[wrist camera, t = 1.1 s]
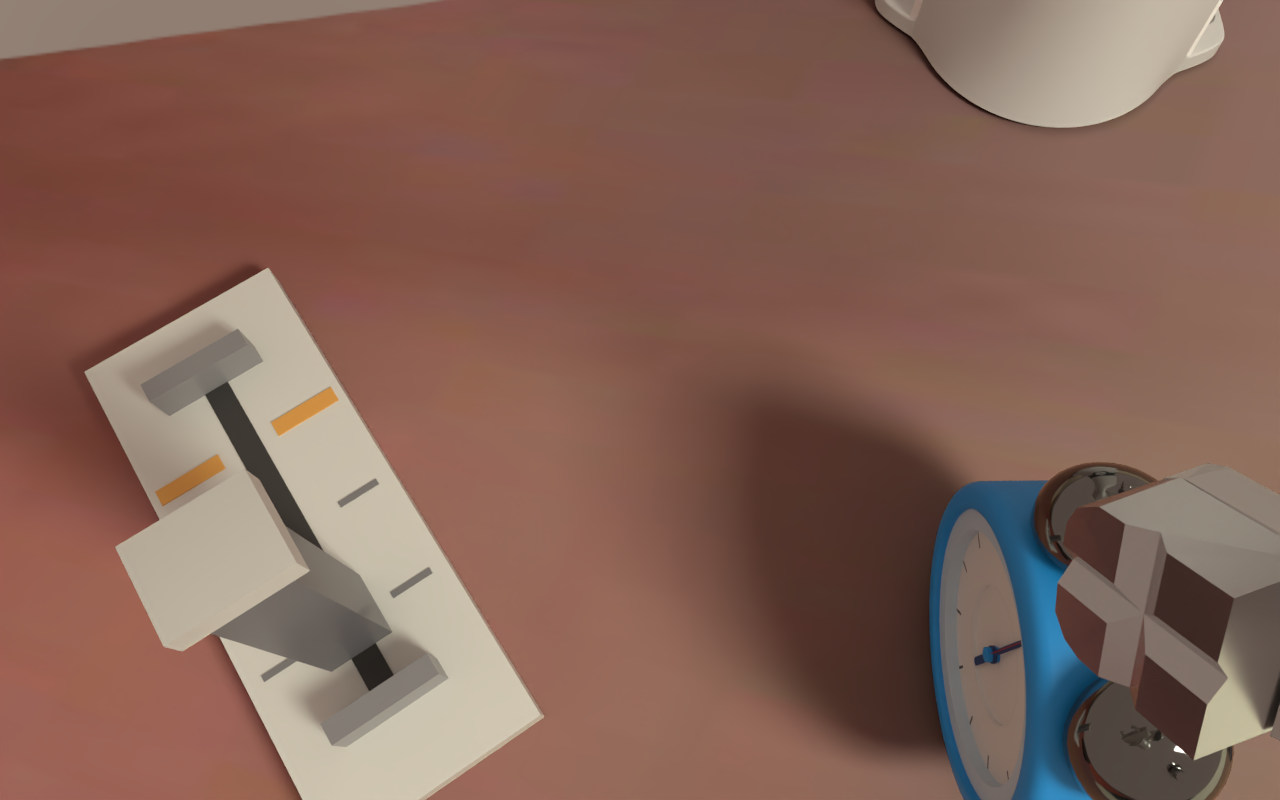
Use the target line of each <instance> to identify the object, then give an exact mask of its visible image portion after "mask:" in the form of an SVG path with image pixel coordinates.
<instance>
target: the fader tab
mask: <svg viewBox="0 0 1280 800" xmlns="http://www.w3.org/2000/svg"><path fill="white" fill-rule="evenodd" d="M115 548H116V550H117V552H118V554H119V556H120V558H121V560H122V562H123V564H124V566H125V568H126V570H127V572H128V574H129V577H130V579H131V581H132V583H133V585H134V587H135V589H136V591H137V593H138V595H139V597H140V599H141V601H142V603H143V605H144V607H145V609H146V611H147V613H148V615H149V617H150V619H151V622H152V624H153V626H154V628H155V630H156V632H157V634H158V636H159V638H160V640H161V642H162V644H163V646H164V647H167V648H171V649H174V650H178V651H184V650H186V649H187V648H189V647H190V646H192V645H193V644H195V643H197V642H198V641H200V640H201V639H203V638H205V637H206V636H208V635H209V634H213V635H216V636H219V637H222V638H225V639H228V640H232V641H235V642H238V643H241V644H244V645H248V646H251V647H254V648H257V649H260V650H263V651H267V652H270V653H273V654H276V655H279V656H283V657H286V658H289V659H292V660H295V661H298V662H302V663H305V664H308V665H311V666H314V667H318V668H321V669H324V670H327V671H330V672H332V671H334V670H335V669H337V668H338V667H340V666H341V665H343V664H344V663H346V662H347V661H349V660H350V659H352V658H353V657H355V656H357V655H358V654H360V653H361V652H363V651H364V650H366V649H367V648H369V647H370V646H372V645H373V644H375V643H376V642H378V641H379V640H381V639H382V638H384V637H386V636H387V635H389V634H390V633H392V630H391V628H390V627H389V625H388V623H387V621H386V620H385V618H384V616H383V614H382V613H381V611H380V609H379V608H378V606H377V604H376V602H375V601H374V599H373V597H372V595H371V594H370V592H369V590H368V588H367V587H366V585H365V583H364V581H363V580H362V578H361V576H360V575H359V574H358V573H356V572H355V571H353V570H351V569H350V568H348V567H347V566H345V565H344V564H342V563H341V562H339V561H338V560H336V559H335V558H333V557H332V556H330V555H329V554H327V553H326V552H324V551H323V550H321V549H320V548H318V547H317V546H315V545H314V544H312V543H310V542H309V541H307V540H306V539H304V538H303V537H301V536H300V535H298V534H297V533H295V532H294V531H292V530H291V529H289V528H288V527H286V526H285V525H284V523H283V521H282V519H281V518H280V516H279V514H278V512H277V510H276V509H275V507H274V505H273V503H272V501H271V500H270V498H269V496H268V494H267V492H266V491H265V489H264V487H263V485H262V483H261V482H260V480H259V479H258V478H257V477H255V476H254V475H253V474H251V473H250V472H248V471H247V470H246V469H243V470H242V471H240V472H238V473H237V474H235V475H233V476H232V477H230V478H228V479H227V480H225V481H224V482H222V483H220V484H219V485H217V486H215V487H214V488H212V489H210V490H209V491H207V492H205V493H204V494H202V495H200V496H199V497H197V498H195V499H194V500H192V501H190V502H189V503H187V504H185V505H184V506H182V507H180V508H179V509H177V510H175V511H174V512H172V513H171V514H169V515H167V516H166V517H164V518H162V519H161V520H159V521H157V522H156V523H154V524H152V525H151V526H149V527H147V528H146V529H144V530H142V531H141V532H139V533H137V534H136V535H134V536H132V537H131V538H129V539H127V540H126V541H124V542H122V543H121V544H119V545H118V546H116V547H115Z"/></svg>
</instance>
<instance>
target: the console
mask: <svg viewBox="0 0 1280 800" xmlns="http://www.w3.org/2000/svg"><path fill="white" fill-rule="evenodd" d="M84 373H85V375H86V376H87V378H88V380H89V382H90V384H91V386H92V388H93V390H94V392H95V394H96V396H97V398H98V400H99V402H100V404H101V406H102V408H103V410H104V412H105V414H106V416H107V418H108V420H109V422H110V424H111V425H112V427H113V429H114V431H115V433H116V435H117V437H118V439H119V441H120V443H121V445H122V447H123V449H124V451H125V453H126V455H127V457H128V459H129V461H130V463H131V465H132V467H133V469H134V471H135V473H136V474H137V476H138V478H139V480H140V482H141V484H142V486H143V488H144V490H145V492H146V494H147V496H148V498H149V500H150V502H151V504H152V506H153V508H154V510H155V512H156V514H157V516H158V518H159V520H161V519H162V518H164V517H166V516H167V515H169V514H171V513H172V512H174V511H175V510H177V509H179V508H180V507H182V506H184V505H185V504H187V503H189V502H190V501H192V500H194V499H195V498H197V497H199V496H200V495H202V494H204V493H205V492H207V491H209V490H210V489H212V488H214V487H215V486H217V485H219V484H220V483H222V482H224V481H225V480H227V479H228V478H230V477H232V476H233V475H235V474H237V473H238V472H240V471H242V470H243V469H246V470H247V471H248V472H250V473H251V474H253V475H254V476H255V477H257V478H258V479H259V480H260V482H261V483H262V485H263V487H264V489H265V491H266V492H267V494H268V496H269V498H270V500H271V501H272V503H273V505H274V507H275V509H276V510H277V512H278V514H279V516H280V518H281V519H282V521H283V523H284V525H285V526H286V527H288V528H289V529H291V530H292V531H294V532H295V533H297V534H298V535H300V536H301V537H303V538H304V539H306V540H307V541H309V542H310V543H312V544H314V545H315V546H317V547H318V548H320V549H321V550H323V551H324V552H326V553H327V554H329V555H330V556H332V557H333V558H335V559H336V560H338V561H339V562H341V563H342V564H344V565H345V566H347V567H348V568H350V569H351V570H353V571H355V572H356V573H358V574H359V575H360V576H361V578H362V580H363V581H364V583H365V585H366V587H367V588H368V590H369V592H370V594H371V595H372V597H373V599H374V601H375V602H376V604H377V606H378V608H379V609H380V611H381V613H382V614H383V616H384V618H385V620H386V621H387V623H388V625H389V627H390V628H391V630H392V633H390V634H389V635H387V636H386V637H384V638H382V639H381V640H379V641H378V642H376V643H375V644H373V645H372V646H370V647H369V648H367V649H366V650H364V651H363V652H361V653H360V654H358V655H357V656H355V657H353V658H352V659H350V660H349V661H347V662H346V663H344V664H343V665H341V666H340V667H338V668H337V669H335V670H334V671H332V672H330V671H327V670H324V669H321V668H318V667H314V666H311V665H308V664H305V663H302V662H298V661H295V660H292V659H289V658H286V657H283V656H279V655H276V654H273V653H270V652H267V651H263V650H260V649H257V648H254V647H251V646H248V645H244V644H241V643H238V642H235V641H232V640H228V639H225V638H222V637H220V639H221V641H222V643H223V645H224V647H225V649H226V651H227V653H228V655H229V657H230V659H231V661H232V663H233V665H234V666H235V668H236V670H237V672H238V674H239V676H240V678H241V680H242V682H243V684H244V686H245V688H246V690H247V692H248V694H249V696H250V698H251V700H252V702H253V704H254V706H255V708H256V710H257V712H258V714H259V715H260V717H261V719H262V721H263V723H264V725H265V727H266V729H267V731H268V733H269V735H270V737H271V739H272V741H273V743H274V745H275V747H276V749H277V751H278V753H279V755H280V757H281V759H282V761H283V762H284V764H285V766H286V768H287V770H288V772H289V774H290V776H291V778H292V780H293V782H294V784H295V786H296V788H297V790H298V792H299V794H300V796H301V798H302V800H426V799H427V798H429V797H430V796H431V795H433V794H434V793H436V792H437V791H439V790H440V789H442V788H443V787H444V786H446V785H447V784H449V783H450V782H452V781H453V780H454V779H456V778H457V777H459V776H460V775H462V774H463V773H465V772H466V771H467V770H469V769H470V768H472V767H473V766H475V765H476V764H478V763H479V762H480V761H482V760H483V759H485V758H486V757H488V756H489V755H491V754H492V753H493V752H495V751H496V750H498V749H499V748H501V747H502V746H503V745H505V744H506V743H508V742H509V741H511V740H512V739H514V738H515V737H516V736H518V735H519V734H521V733H522V732H524V731H525V730H527V729H528V728H529V727H531V726H532V725H534V724H535V723H537V722H538V721H540V720H541V719H542V718H544V717H545V716H544V715H543V713H542V711H541V710H540V708H539V706H538V705H537V703H536V702H535V700H534V698H533V697H532V695H531V693H530V692H529V690H528V688H527V687H526V685H525V684H524V682H523V680H522V679H521V677H520V675H519V674H518V672H517V670H516V669H515V667H514V665H513V664H512V662H511V661H510V659H509V657H508V656H507V654H506V652H505V651H504V649H503V647H502V646H501V644H500V643H499V641H498V639H497V638H496V636H495V634H494V633H493V631H492V629H491V628H490V626H489V625H488V623H487V621H486V620H485V618H484V616H483V615H482V613H481V611H480V610H479V608H478V607H477V605H476V603H475V602H474V600H473V598H472V597H471V595H470V593H469V592H468V590H467V589H466V587H465V585H464V584H463V582H462V580H461V579H460V577H459V575H458V574H457V572H456V571H455V569H454V567H453V566H452V564H451V562H450V561H449V559H448V557H447V556H446V554H445V553H444V551H443V549H442V548H441V546H440V544H439V543H438V541H437V539H436V538H435V536H434V534H433V533H432V531H431V530H430V528H429V526H428V525H427V523H426V521H425V520H424V518H423V516H422V515H421V513H420V512H419V510H418V508H417V507H416V505H415V503H414V502H413V500H412V498H411V497H410V495H409V494H408V492H407V490H406V489H405V487H404V485H403V484H402V482H401V480H400V479H399V477H398V476H397V474H396V472H395V471H394V469H393V467H392V466H391V464H390V462H389V461H388V459H387V458H386V456H385V454H384V453H383V451H382V449H381V448H380V446H379V444H378V443H377V441H376V440H375V438H374V436H373V435H372V433H371V431H370V430H369V428H368V426H367V425H366V423H365V421H364V420H363V418H362V417H361V415H360V413H359V412H358V410H357V408H356V407H355V405H354V403H353V402H352V400H351V399H350V397H349V395H348V394H347V392H346V390H345V389H344V387H343V385H342V384H341V382H340V381H339V379H338V377H337V376H336V374H335V372H334V371H333V369H332V367H331V366H330V364H329V363H328V361H327V359H326V358H325V356H324V354H323V353H322V351H321V349H320V348H319V346H318V345H317V343H316V341H315V340H314V338H313V336H312V335H311V333H310V331H309V330H308V328H307V327H306V325H305V323H304V322H303V320H302V318H301V317H300V315H299V313H298V312H297V310H296V308H295V307H294V305H293V304H292V302H291V300H290V299H289V297H288V295H287V294H286V292H285V290H284V289H283V287H282V286H281V284H280V282H279V281H278V280H277V278H276V277H275V276H274V274H273V273H272V272H271V271H270V269H269V268H267V269H265V270H263V271H261V272H259V273H258V274H256V275H254V276H252V277H251V278H249V279H247V280H245V281H244V282H242V283H240V284H238V285H237V286H235V287H233V288H231V289H229V290H228V291H226V292H224V293H222V294H221V295H219V296H217V297H215V298H214V299H212V300H210V301H208V302H207V303H205V304H203V305H201V306H199V307H198V308H196V309H194V310H192V311H191V312H189V313H187V314H185V315H184V316H182V317H180V318H178V319H177V320H175V321H173V322H171V323H169V324H168V325H166V326H164V327H162V328H161V329H159V330H157V331H155V332H154V333H152V334H150V335H148V336H147V337H145V338H143V339H141V340H139V341H138V342H136V343H134V344H132V345H131V346H129V347H127V348H125V349H124V350H122V351H120V352H118V353H117V354H115V355H113V356H111V357H109V358H108V359H106V360H104V361H102V362H101V363H99V364H97V365H95V366H94V367H92V368H90V369H88V370H87V371H85V372H84Z"/></svg>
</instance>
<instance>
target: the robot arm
mask: <svg viewBox="0 0 1280 800" xmlns="http://www.w3.org/2000/svg"><path fill="white" fill-rule="evenodd" d="M1222 2H1223V0H875V5H876V8H877V10H878V11H879V12H880V14H881V15H882V16H883V17H884V18H886V19H887V20H888V21H889V22H891V23H892V24H893V25H895V26H896V27H898V28H899V29H900V30H902V31H903V32H905V33H906V34H908V35H909V36H911V37H912V38H913V39H914V40H915V41H916V43H917V44H918V45H919V47H920V48H921V49H922V51H923V52H924V54H925V56H926V57H927V59H928V60H929V62H930V63H931V65H932V66H933V67H934V69H935V70H936V71H937V73H938V74H939V75H940V76H941V77H942V78H943V79H944V80H945V81H946V82H947V83H948V84H949V85H950V86H951V87H952V88H953V89H954V90H956V91H957V92H958V93H959V94H961V95H962V96H963V97H965V98H966V99H968V100H969V101H971V102H972V103H974V104H976V105H978V106H979V107H981V108H983V109H985V110H987V111H989V112H991V113H994V114H996V115H998V116H1001V117H1004V118H1007V119H1010V120H1013V121H1017V122H1021V123H1025V124H1030V125H1036V126H1043V127H1057V128H1064V127H1080V126H1088V125H1093V124H1097V123H1101V122H1105V121H1108V120H1111V119H1114V118H1116V117H1119V116H1121V115H1123V114H1125V113H1127V112H1129V111H1131V110H1133V109H1134V108H1136V107H1137V106H1139V105H1140V104H1142V103H1143V102H1144V101H1146V100H1147V99H1148V98H1149V97H1150V96H1151V95H1152V94H1153V93H1154V92H1155V91H1156V90H1157V89H1158V88H1159V87H1160V86H1161V85H1162V84H1163V83H1164V82H1165V81H1166V80H1167V79H1168V78H1169V77H1171V76H1172V75H1173V74H1175V73H1177V72H1179V71H1182V70H1185V69H1188V68H1190V67H1193V66H1196V65H1198V64H1200V63H1203V62H1205V61H1207V60H1208V59H1210V58H1211V57H1213V56H1214V55H1215V53H1216V52H1217V50H1218V48H1219V47H1220V45H1221V43H1222V41H1223V39H1224V28H1223V24H1222V20H1221V16H1220V13H1219V9H1218V8H1219V7H1220V5H1221V3H1222ZM1063 545H1064V547H1065V548H1066V549H1067V551H1068V552H1069V554H1070V555H1071V556H1072V558H1073V560H1072V562H1071V563H1070V565H1069V566H1068V568H1067V569H1066V571H1065V572H1064V574H1063V575H1062V577H1061V578H1060V580H1059V581H1058V584H1057V595H1056V605H1055V613H1056V616H1057V619H1058V622H1059V625H1060V628H1061V631H1062V634H1063V637H1064V639H1065V640H1066V642H1067V643H1068V645H1069V646H1070V648H1071V649H1072V651H1073V652H1074V653H1075V655H1076V656H1077V658H1078V659H1079V660H1080V661H1081V662H1083V663H1084V664H1085V665H1086V666H1087V667H1088V668H1089V669H1090V670H1091V671H1092V672H1093V673H1095V674H1096V675H1097V676H1098V677H1101V678H1104V679H1106V680H1109V681H1112V682H1115V683H1118V684H1121V685H1124V686H1127V687H1130V691H1131V695H1132V699H1133V703H1134V708H1135V710H1136V711H1138V712H1139V713H1140V714H1141V715H1142V716H1143V717H1144V718H1146V719H1147V720H1148V721H1149V722H1150V723H1151V724H1152V725H1154V726H1155V727H1156V728H1157V729H1158V730H1159V731H1160V732H1162V733H1163V734H1164V735H1165V736H1166V737H1167V738H1168V739H1170V740H1171V741H1172V742H1173V743H1174V744H1175V745H1176V746H1178V747H1179V748H1180V749H1181V750H1182V751H1183V752H1184V753H1186V754H1187V755H1188V756H1189V757H1190V758H1191V759H1192V760H1196V759H1199V758H1201V757H1204V756H1206V755H1209V754H1212V753H1214V752H1217V751H1219V750H1222V749H1224V748H1227V747H1230V746H1232V745H1235V744H1237V743H1240V742H1243V741H1245V740H1248V739H1250V738H1253V737H1256V736H1258V735H1261V734H1263V733H1266V732H1268V731H1271V730H1272V731H1271V735H1270V736H1271V737H1273V738H1276V739H1278V740H1280V495H1278V494H1277V493H1275V492H1273V491H1271V490H1269V489H1268V488H1266V487H1264V486H1262V485H1260V484H1259V483H1257V482H1255V481H1253V480H1251V479H1249V478H1248V477H1246V476H1244V475H1242V474H1240V473H1239V472H1237V471H1235V470H1233V469H1231V468H1230V467H1226V466H1220V465H1215V464H1210V463H1207V464H1204V465H1201V466H1198V467H1195V468H1192V469H1189V470H1186V471H1183V472H1181V473H1178V474H1175V475H1172V476H1169V477H1166V478H1164V479H1163V480H1161V481H1156V482H1152V483H1149V484H1146V485H1143V486H1140V487H1137V488H1134V489H1131V490H1128V491H1125V492H1122V493H1119V494H1116V495H1113V496H1110V497H1107V498H1104V499H1102V500H1099V501H1096V502H1093V503H1090V504H1087V505H1084V506H1081V507H1078V508H1076V510H1075V511H1074V513H1073V514H1072V516H1071V517H1070V518H1069V520H1068V521H1067V524H1066V530H1065V536H1064V542H1063Z"/></svg>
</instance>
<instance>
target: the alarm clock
mask: <svg viewBox="0 0 1280 800" xmlns="http://www.w3.org/2000/svg"><path fill="white" fill-rule="evenodd" d="M1156 481H1158V480H1156V479H1155V478H1153V477H1151V476H1150V475H1148V474H1146V473H1145V472H1142V471H1140V470H1138V469H1135V468H1132V467H1129V466H1126V465H1122V464H1116V463H1107V462H1091V463H1084V464H1080V465H1076V466H1073V467H1070V468H1067V469H1065V470H1063V471H1061V472H1059V473H1058V474H1056V475H1055V476H1054V477H1053V478H1051V479H1050V480H1049V481H979V482H973V483H969V484H967V485H965V486H964V487H962V488H961V489H960V490H959V491H957V492H956V493H955V495H954V496H953V497H952V499H951V500H950V502H949V504H948V506H947V507H946V509H945V512H944V514H943V516H942V519H941V522H940V525H939V529H938V532H937V537H936V541H935V547H934V552H933V559H932V568H931V579H930V599H929V627H930V648H931V662H932V672H933V681H934V689H935V696H936V702H937V708H938V714H939V719H940V725H941V729H942V734H943V738H944V743H945V747H946V750H947V754H948V758H949V761H950V764H951V768H952V771H953V774H954V777H955V779H956V782H957V785H958V787H959V790H960V792H961V794H962V796H963V799H964V800H1214V799H1215V798H1216V797H1217V796H1218V795H1219V794H1220V792H1221V790H1222V789H1223V787H1224V786H1225V784H1226V782H1227V779H1228V777H1229V774H1230V771H1231V768H1232V763H1233V757H1234V745H1232V746H1230V747H1227V748H1224V749H1222V750H1219V751H1217V752H1214V753H1212V754H1209V755H1206V756H1204V757H1201V758H1199V759H1196V760H1192V759H1191V758H1190V757H1189V756H1188V755H1187V754H1186V753H1184V752H1183V751H1182V750H1181V749H1180V748H1179V747H1178V746H1176V745H1175V744H1174V743H1173V742H1172V741H1171V740H1170V739H1168V738H1167V737H1166V736H1165V735H1164V734H1163V733H1162V732H1160V731H1159V730H1158V729H1157V728H1156V727H1155V726H1154V725H1152V724H1151V723H1150V722H1149V721H1148V720H1147V719H1146V718H1144V717H1143V716H1142V715H1141V714H1140V713H1139V712H1138V711H1136V710H1135V708H1134V703H1133V699H1132V695H1131V691H1130V687H1127V686H1124V685H1121V684H1118V683H1115V682H1112V681H1109V680H1106V679H1104V678H1101V677H1098V676H1097V675H1096V674H1095V673H1093V672H1092V671H1091V670H1090V669H1089V668H1088V667H1087V666H1086V665H1085V664H1084V663H1083V662H1081V661H1080V660H1079V659H1078V658H1077V656H1076V655H1075V653H1074V652H1073V651H1072V649H1071V648H1070V646H1069V645H1068V643H1067V642H1066V640H1065V639H1064V637H1063V634H1062V631H1061V628H1060V625H1059V622H1058V619H1057V616H1056V613H1055V605H1056V595H1057V584H1058V581H1059V580H1060V578H1061V577H1062V575H1063V574H1064V572H1065V571H1066V569H1067V568H1068V566H1069V565H1070V563H1071V562H1072V560H1073V558H1072V556H1071V555H1070V554H1069V552H1068V551H1067V549H1066V548H1065V547H1064V545H1063V542H1064V536H1065V530H1066V524H1067V521H1068V520H1069V518H1070V517H1071V516H1072V514H1073V513H1074V511H1075V510H1076V508H1078V507H1081V506H1084V505H1087V504H1090V503H1093V502H1096V501H1099V500H1102V499H1104V498H1107V497H1110V496H1113V495H1116V494H1119V493H1122V492H1125V491H1128V490H1131V489H1134V488H1137V487H1140V486H1143V485H1146V484H1149V483H1152V482H1156Z"/></svg>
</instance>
